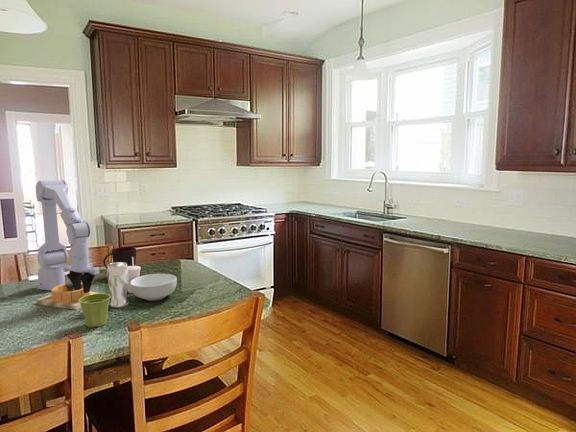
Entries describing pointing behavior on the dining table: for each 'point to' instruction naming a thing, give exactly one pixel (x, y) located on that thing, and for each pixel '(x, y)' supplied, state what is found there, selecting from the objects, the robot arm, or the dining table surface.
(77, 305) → the peg board
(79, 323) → the dining table surface
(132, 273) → the smoothie
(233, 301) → the dining table surface
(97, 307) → the plant pot
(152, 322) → the dining table surface
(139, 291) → the cereal bowl
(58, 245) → the robot arm
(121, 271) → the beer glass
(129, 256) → the cup
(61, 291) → the faceted orange ring
